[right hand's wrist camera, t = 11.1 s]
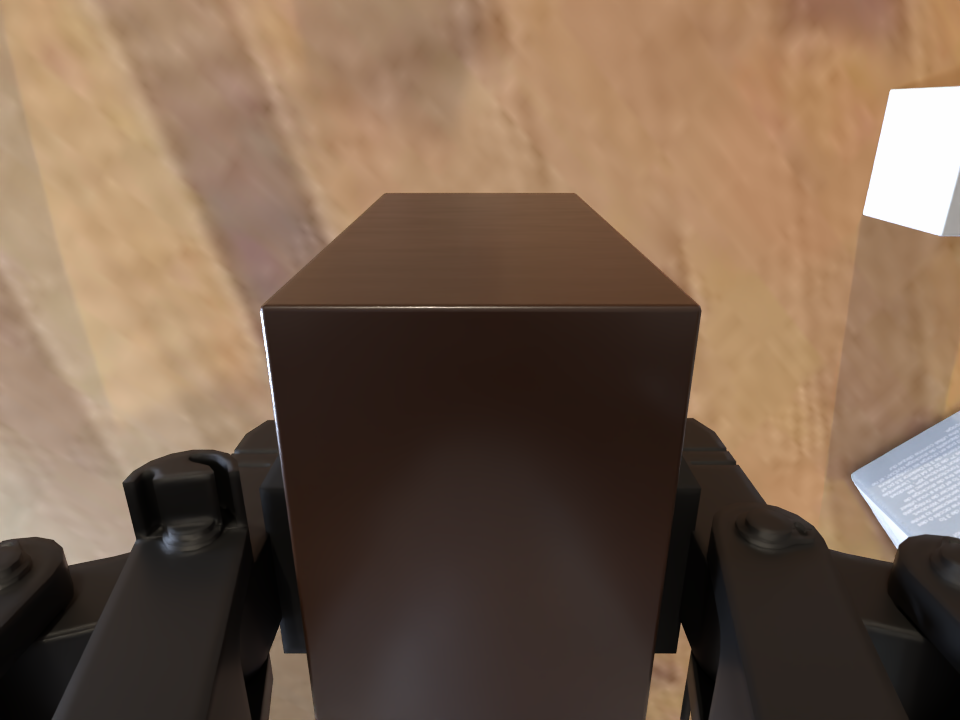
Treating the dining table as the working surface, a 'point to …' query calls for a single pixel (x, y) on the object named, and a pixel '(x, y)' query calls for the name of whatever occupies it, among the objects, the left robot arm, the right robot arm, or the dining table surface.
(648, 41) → the dining table surface
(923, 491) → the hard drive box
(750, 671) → the right robot arm
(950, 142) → the grey cube
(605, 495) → the walnut bar
